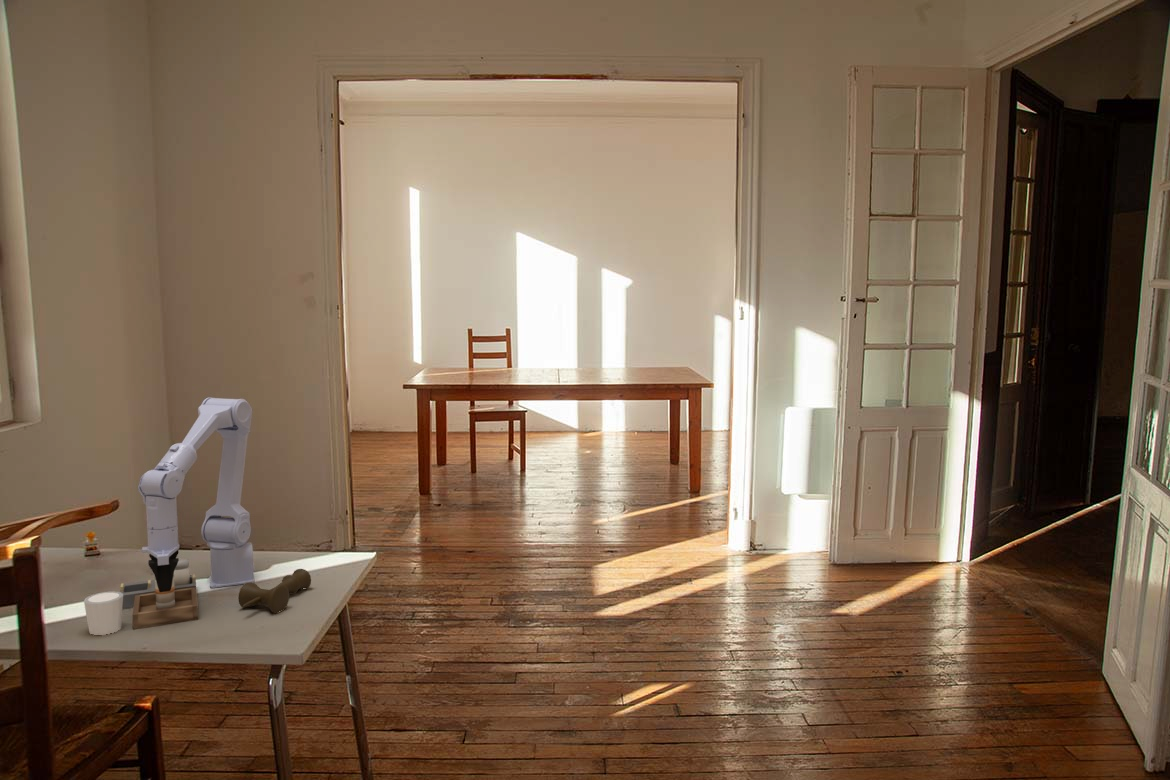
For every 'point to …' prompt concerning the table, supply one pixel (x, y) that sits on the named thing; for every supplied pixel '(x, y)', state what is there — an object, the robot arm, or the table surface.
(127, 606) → the fuse holder
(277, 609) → the kendama
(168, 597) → the marked fuse
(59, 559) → the table surface
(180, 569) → the plain fuse
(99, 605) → the white tapered cup
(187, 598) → the tray
